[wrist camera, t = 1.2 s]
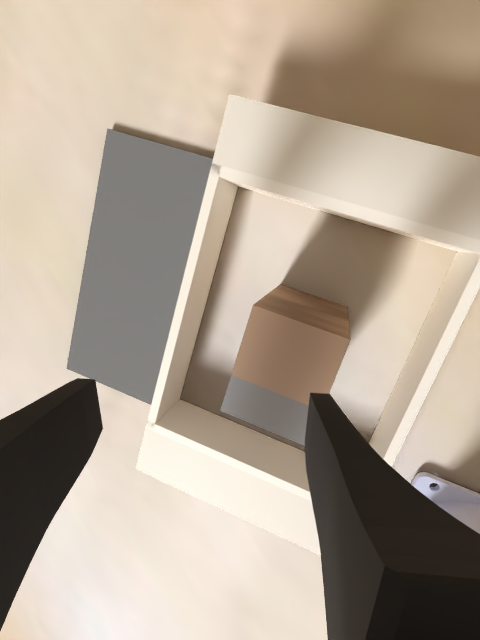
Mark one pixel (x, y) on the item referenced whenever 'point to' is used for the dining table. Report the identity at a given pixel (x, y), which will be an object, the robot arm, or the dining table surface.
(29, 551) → the robot arm
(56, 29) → the dining table surface
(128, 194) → the mat
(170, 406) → the carton
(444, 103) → the dining table surface
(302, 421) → the block
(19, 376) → the dining table surface
